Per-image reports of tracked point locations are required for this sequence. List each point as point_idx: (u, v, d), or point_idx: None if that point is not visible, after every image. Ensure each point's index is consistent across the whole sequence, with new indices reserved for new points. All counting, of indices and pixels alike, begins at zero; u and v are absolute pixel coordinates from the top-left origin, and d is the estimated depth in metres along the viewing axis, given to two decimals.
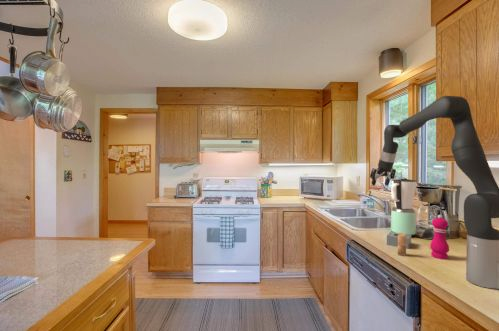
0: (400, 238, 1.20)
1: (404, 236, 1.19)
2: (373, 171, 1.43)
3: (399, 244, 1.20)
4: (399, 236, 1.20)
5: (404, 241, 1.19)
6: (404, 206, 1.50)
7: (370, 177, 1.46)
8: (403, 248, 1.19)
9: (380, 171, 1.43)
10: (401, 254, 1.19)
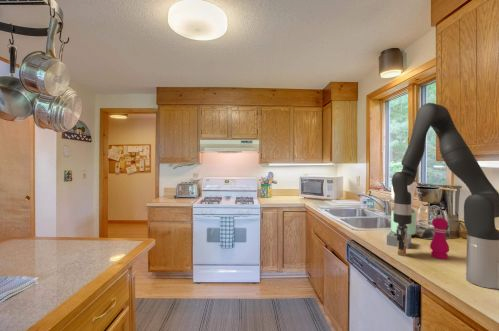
0: (400, 238, 1.20)
1: None
2: (400, 233, 1.16)
3: None
4: None
5: (404, 241, 1.19)
6: None
7: (398, 240, 1.17)
8: None
9: (403, 230, 1.18)
10: (401, 254, 1.19)
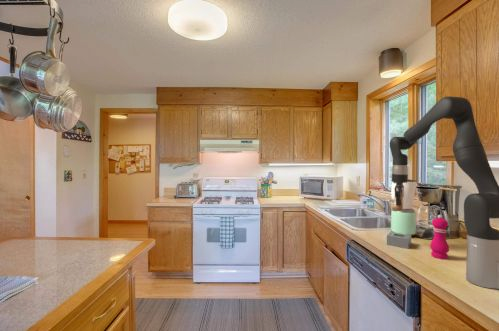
0: None
1: None
2: (398, 190, 1.31)
3: None
4: None
5: (401, 198, 1.34)
6: (404, 206, 1.50)
7: (396, 197, 1.32)
8: None
9: (400, 188, 1.33)
10: (398, 210, 1.34)
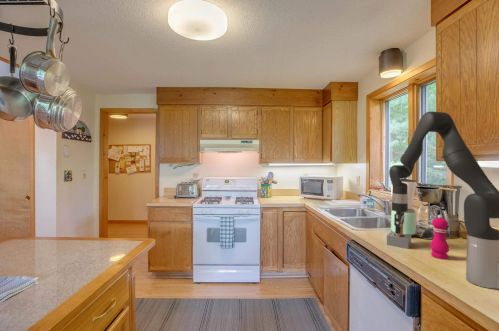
0: None
1: (401, 226, 1.34)
2: (397, 217, 1.31)
3: (397, 233, 1.35)
4: None
5: (401, 231, 1.34)
6: None
7: (395, 225, 1.31)
8: (400, 236, 1.34)
9: (400, 216, 1.33)
10: None
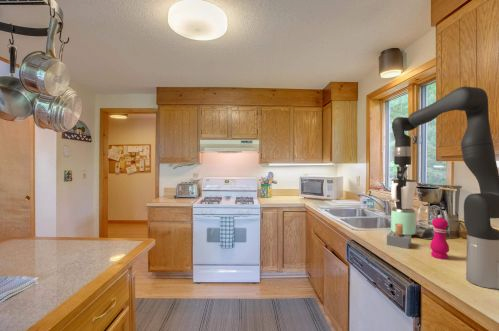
0: (397, 228, 1.35)
1: (401, 226, 1.34)
2: (400, 169, 1.24)
3: (396, 233, 1.36)
4: (396, 226, 1.36)
5: (401, 230, 1.34)
6: (404, 206, 1.50)
7: (398, 178, 1.25)
8: (400, 236, 1.34)
9: (403, 169, 1.27)
10: None
